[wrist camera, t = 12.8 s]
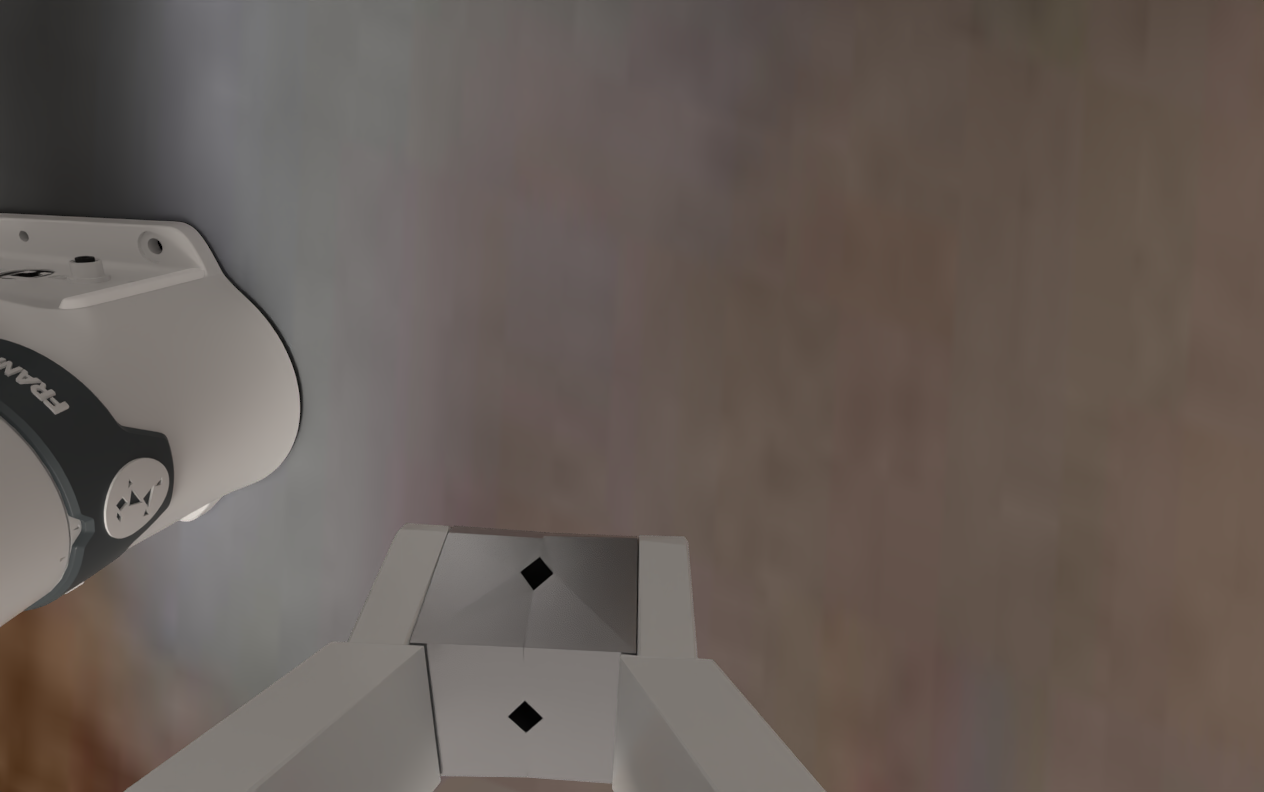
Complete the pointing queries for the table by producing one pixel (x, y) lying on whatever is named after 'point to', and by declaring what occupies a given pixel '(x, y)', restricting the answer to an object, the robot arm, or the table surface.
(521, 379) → the table surface
